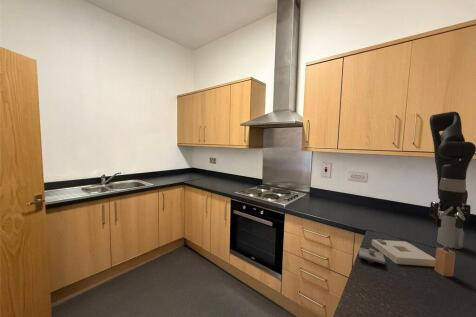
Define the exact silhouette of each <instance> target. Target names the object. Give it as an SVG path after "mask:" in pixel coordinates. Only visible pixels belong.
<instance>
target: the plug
mask: <svg viewBox="0 0 476 317" xmlns="http://www.w3.org/2000/svg"><path fill="white" fill-rule="evenodd" d="M456 254H457V253H456V252H454V251H452V250H450V248H449V246H447V245H444V246H443V247H436V249H435V257H434V258H435V266H434V269H433V270H434V272H436V273H438V274H439V275H441V276H443V277H454V272H455V264H456V263H455V262H456Z"/></svg>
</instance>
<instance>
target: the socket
mask: <svg viewBox="0 0 476 317" xmlns="http://www.w3.org/2000/svg"><path fill="white" fill-rule="evenodd" d="M371 246H372V247H374V248H375V249H376V250H378V252H380V253H383V255H384V257H387V258H388V259H389V260H391V261H392V262H393V263H394V264H396V265H406V266H407V265H409V266H411V265H412V266H423V267H435V258H436V257H433V256H431V255H430V254H428V253H426V252H424V251H423V250H422V249H420V248H418V247H416V246H414V245H413V244H412V243H409V242H408V241H401V240H387V239H380V238H376V239H371Z"/></svg>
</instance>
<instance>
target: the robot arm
mask: <svg viewBox="0 0 476 317" xmlns="http://www.w3.org/2000/svg"><path fill="white" fill-rule="evenodd" d="M429 127H430V128H429V129H430V133H431V138H432V143H433V149H434V151H433V152H434V153H433V154H434V162H435V169H436V176H437V198H438V200H439V201H438V202H435V201H431V202H430V206H429V211H428V212H429V213H428V215H429V216H431V217H433V225H434V227H436V228H438V230H437V241H436V243H437V242H438V243H439V245H440V244H441V245H440V246H443V247H444V245H447V246H449V249H453V248H454V249H455V250H460V249H463V248H464V247H463V246H464V238H465V231H464V229H463V228H464V222H465V221H466V220H470V219H471V205H470V204H467V203H468V197H469V196H468V194H469V193H468V192H469V191H468V190H467V182H466V181H467V172H468V168H469V165H470V164H471V161H472V159H473V157H475V155H476V144H474V143H473V142H470V141H466V138H465V137H464V134H463V124H462V119H461V116H460V113H458V112H457V111H447V112H442V113H436V114H433V115H430V117H429ZM438 243H437V244H438Z"/></svg>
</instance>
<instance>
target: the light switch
mask: <svg viewBox="0 0 476 317" xmlns="http://www.w3.org/2000/svg"><path fill="white" fill-rule="evenodd" d="M358 255H359V256H358V257H359V258H361V259H363V260H366V261H367V263H369V264H374V263H375V262H376V263H379V264H382V265H386V259H385V255H384V254H383V253H382V252H380V251H376V250H375V249H373V248H368V249H367V248H365V247H358Z"/></svg>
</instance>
